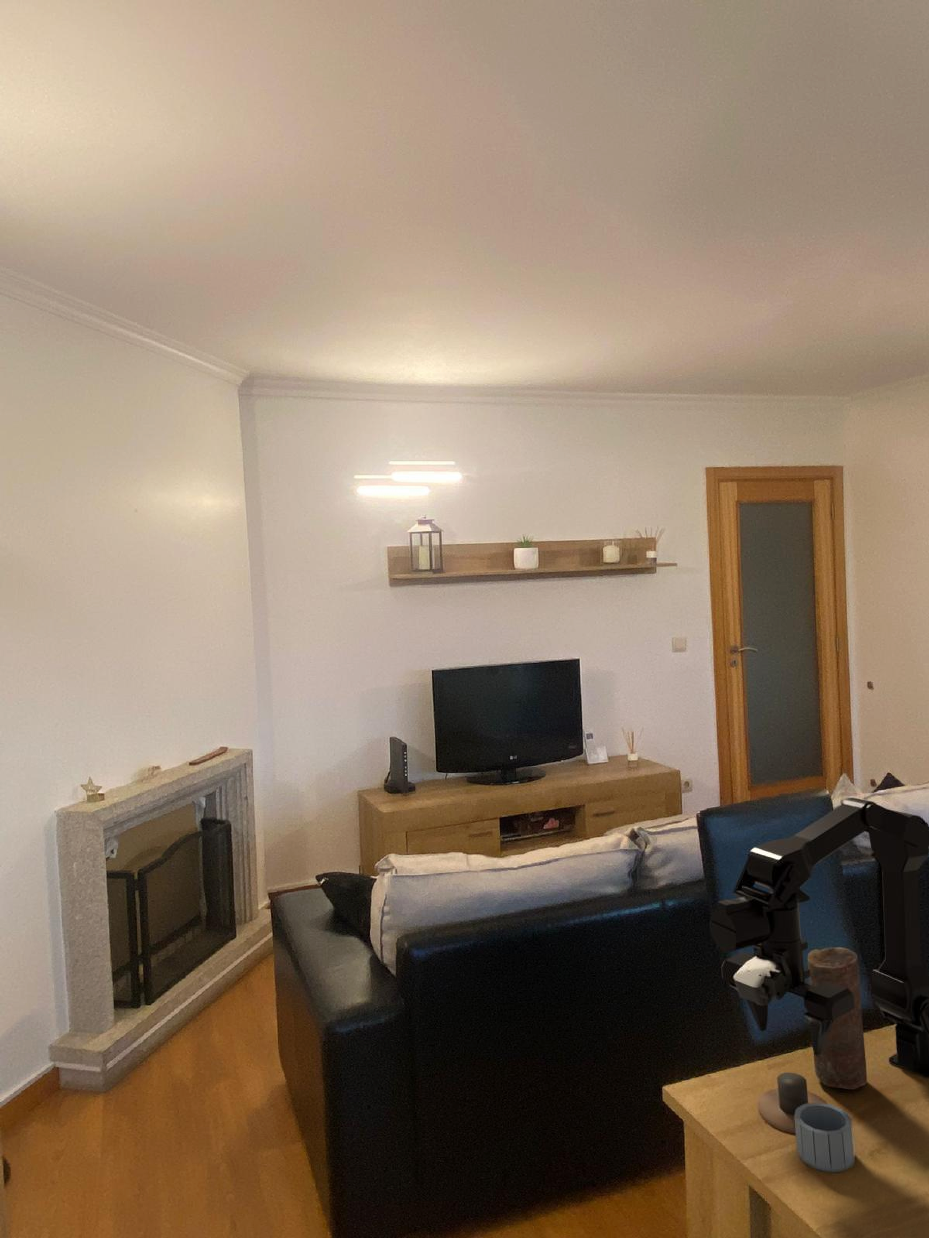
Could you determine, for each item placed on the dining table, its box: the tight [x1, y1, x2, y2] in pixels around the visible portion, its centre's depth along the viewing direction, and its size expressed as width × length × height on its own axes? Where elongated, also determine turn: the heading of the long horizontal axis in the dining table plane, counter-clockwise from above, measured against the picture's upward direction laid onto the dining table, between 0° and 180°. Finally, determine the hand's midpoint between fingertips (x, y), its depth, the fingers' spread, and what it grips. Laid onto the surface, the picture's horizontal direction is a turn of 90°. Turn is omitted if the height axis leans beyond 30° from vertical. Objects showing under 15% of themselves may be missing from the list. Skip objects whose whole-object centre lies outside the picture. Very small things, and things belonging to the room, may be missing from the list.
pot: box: [794, 1102, 856, 1173], centre depth 113 cm, size 7×7×5 cm
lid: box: [757, 1072, 829, 1134], centre depth 123 cm, size 10×10×5 cm
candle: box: [807, 947, 868, 1090], centre depth 129 cm, size 8×7×20 cm
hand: (789, 1041), depth 123 cm, fingers open, 9 cm apart
